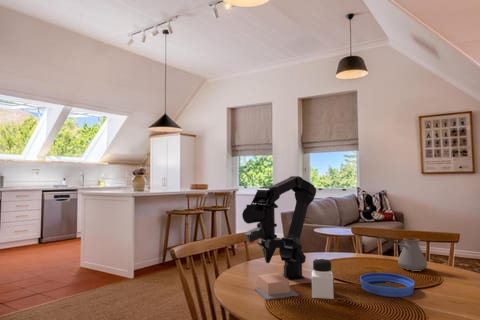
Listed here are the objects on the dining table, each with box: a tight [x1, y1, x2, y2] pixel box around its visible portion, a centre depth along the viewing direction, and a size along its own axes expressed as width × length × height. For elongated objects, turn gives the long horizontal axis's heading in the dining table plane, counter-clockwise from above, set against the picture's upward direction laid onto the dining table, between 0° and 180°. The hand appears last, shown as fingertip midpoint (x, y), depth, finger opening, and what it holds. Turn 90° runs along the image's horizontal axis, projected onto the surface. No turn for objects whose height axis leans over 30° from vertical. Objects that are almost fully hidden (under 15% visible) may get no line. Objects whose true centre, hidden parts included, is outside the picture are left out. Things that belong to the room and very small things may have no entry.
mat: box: [254, 287, 300, 301], centre depth 121 cm, size 12×11×1 cm
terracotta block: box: [257, 272, 291, 295], centre depth 124 cm, size 8×4×10 cm
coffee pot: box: [378, 235, 428, 270], centre depth 147 cm, size 21×12×15 cm, turn 104°
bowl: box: [359, 272, 416, 298], centre depth 124 cm, size 18×18×4 cm
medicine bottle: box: [311, 258, 335, 300], centre depth 118 cm, size 7×7×12 cm
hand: (267, 262), depth 129 cm, fingers closed
